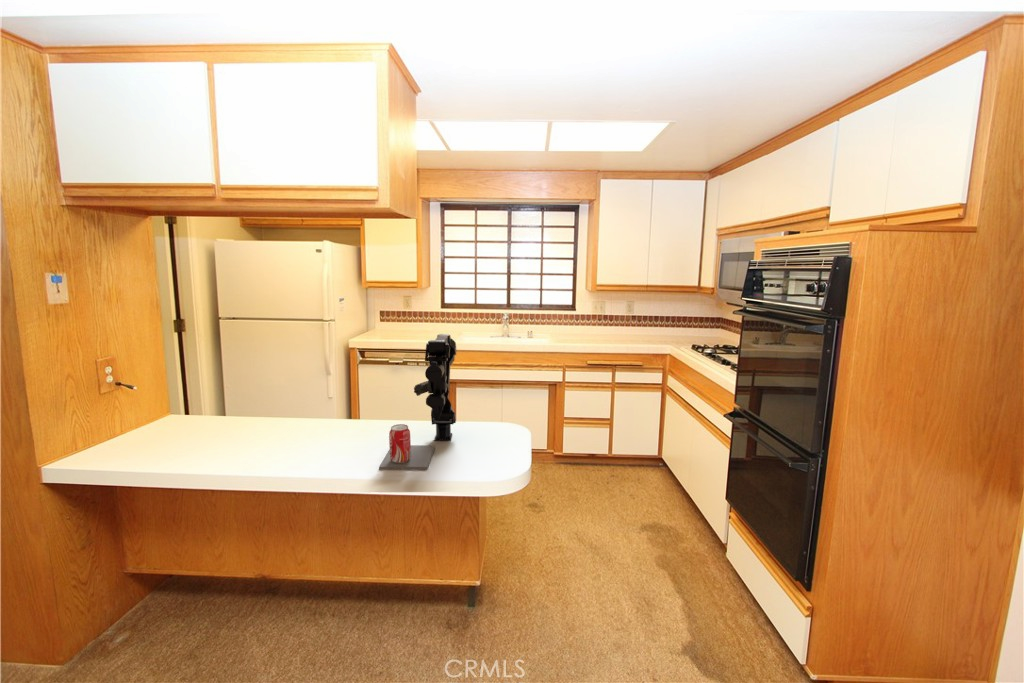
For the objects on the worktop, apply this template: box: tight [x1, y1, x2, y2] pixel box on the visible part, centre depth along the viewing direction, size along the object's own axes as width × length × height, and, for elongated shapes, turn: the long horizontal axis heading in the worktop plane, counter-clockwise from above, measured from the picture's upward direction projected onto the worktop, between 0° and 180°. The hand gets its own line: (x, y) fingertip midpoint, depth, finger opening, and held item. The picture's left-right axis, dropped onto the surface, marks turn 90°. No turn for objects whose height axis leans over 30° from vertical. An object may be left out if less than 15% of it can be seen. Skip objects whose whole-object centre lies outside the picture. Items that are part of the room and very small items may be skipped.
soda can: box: [388, 423, 412, 463], centre depth 154 cm, size 7×7×12 cm
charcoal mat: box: [378, 444, 436, 471], centre depth 159 cm, size 18×16×1 cm
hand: (438, 416), depth 164 cm, fingers open, 9 cm apart
